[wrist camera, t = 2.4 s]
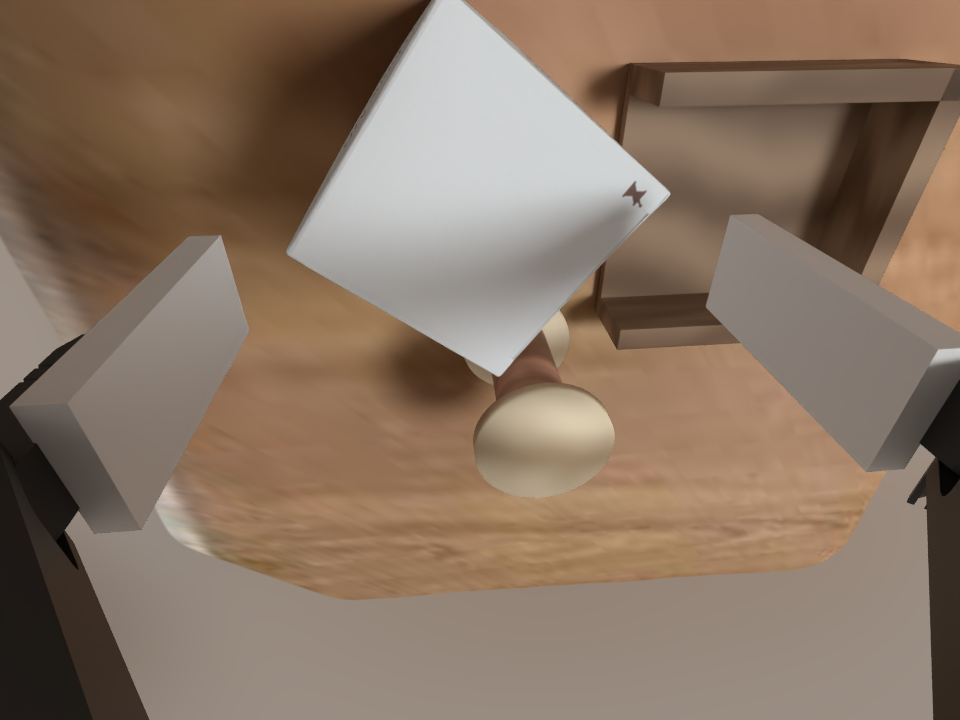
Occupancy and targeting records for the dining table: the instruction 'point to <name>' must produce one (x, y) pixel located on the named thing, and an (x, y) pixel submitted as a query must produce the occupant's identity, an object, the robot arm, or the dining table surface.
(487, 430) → the bobbin post
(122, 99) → the dining table surface
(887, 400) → the robot arm
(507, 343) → the supplement box
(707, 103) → the open wooden tray
